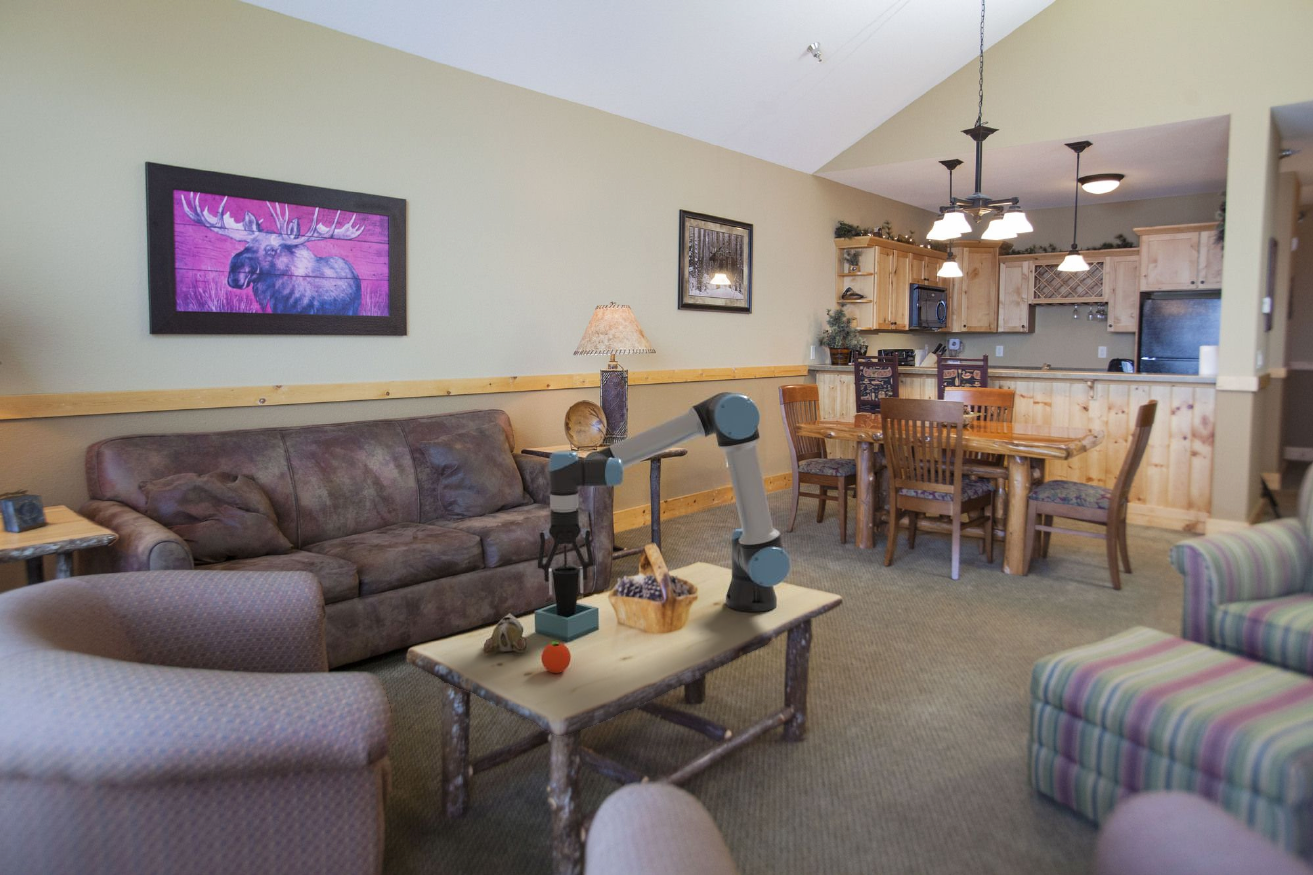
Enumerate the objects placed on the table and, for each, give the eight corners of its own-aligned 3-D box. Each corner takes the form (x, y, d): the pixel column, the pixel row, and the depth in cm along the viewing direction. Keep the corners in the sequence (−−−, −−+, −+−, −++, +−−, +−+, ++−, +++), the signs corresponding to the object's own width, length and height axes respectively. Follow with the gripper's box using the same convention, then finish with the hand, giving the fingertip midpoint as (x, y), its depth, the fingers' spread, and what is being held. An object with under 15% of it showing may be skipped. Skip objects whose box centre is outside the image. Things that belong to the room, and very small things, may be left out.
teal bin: (598, 629, 221) (598, 607, 220) (568, 642, 211) (567, 619, 210) (566, 620, 228) (565, 600, 227) (535, 632, 218) (534, 611, 218)
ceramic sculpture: (529, 606, 213) (524, 628, 198) (531, 637, 214) (525, 661, 200) (489, 607, 212) (480, 630, 198) (490, 639, 214) (482, 663, 199)
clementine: (537, 667, 194) (536, 638, 193) (564, 662, 197) (564, 634, 196) (546, 679, 187) (545, 649, 186) (575, 674, 190) (574, 645, 189)
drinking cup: (552, 623, 215) (551, 549, 213) (552, 614, 222) (550, 543, 220) (581, 621, 216) (580, 548, 214) (580, 612, 223) (578, 541, 221)
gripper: (601, 505, 221) (603, 586, 224) (525, 508, 218) (528, 590, 221) (603, 510, 214) (605, 594, 216) (525, 513, 211) (527, 598, 213)
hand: (566, 592), depth 218 cm, fingers closed on drinking cup, 8 cm apart
